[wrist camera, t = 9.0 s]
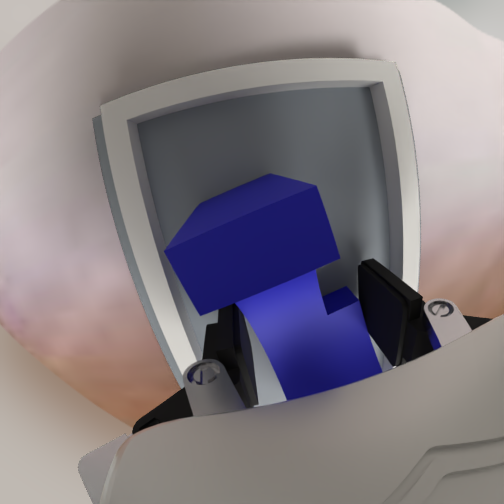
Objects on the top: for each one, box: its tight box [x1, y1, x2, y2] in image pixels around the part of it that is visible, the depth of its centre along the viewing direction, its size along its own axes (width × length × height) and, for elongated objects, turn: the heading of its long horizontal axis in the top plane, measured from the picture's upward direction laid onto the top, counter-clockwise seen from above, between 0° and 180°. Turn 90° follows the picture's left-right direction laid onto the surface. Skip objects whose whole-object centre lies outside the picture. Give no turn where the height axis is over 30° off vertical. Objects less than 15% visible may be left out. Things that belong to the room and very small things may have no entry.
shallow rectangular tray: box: [93, 58, 421, 407], centre depth 12 cm, size 14×20×2 cm
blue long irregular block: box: [164, 173, 383, 401], centre depth 9 cm, size 12×4×6 cm, turn 23°
